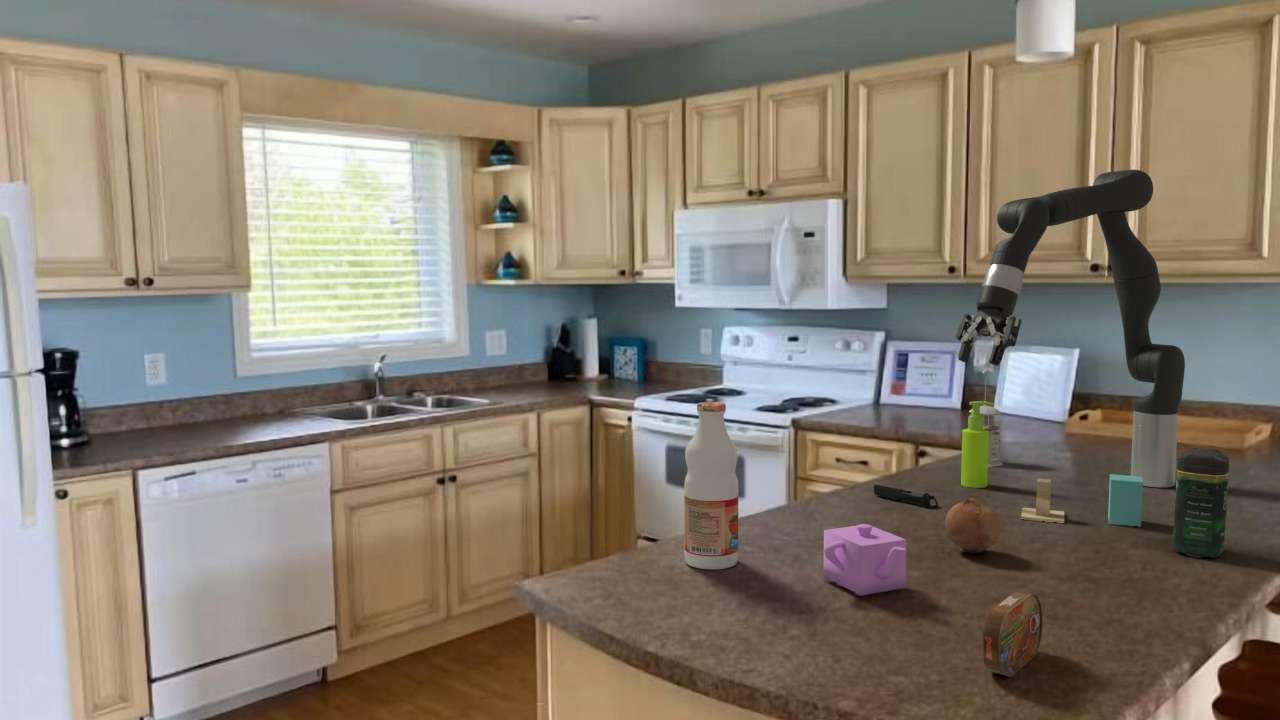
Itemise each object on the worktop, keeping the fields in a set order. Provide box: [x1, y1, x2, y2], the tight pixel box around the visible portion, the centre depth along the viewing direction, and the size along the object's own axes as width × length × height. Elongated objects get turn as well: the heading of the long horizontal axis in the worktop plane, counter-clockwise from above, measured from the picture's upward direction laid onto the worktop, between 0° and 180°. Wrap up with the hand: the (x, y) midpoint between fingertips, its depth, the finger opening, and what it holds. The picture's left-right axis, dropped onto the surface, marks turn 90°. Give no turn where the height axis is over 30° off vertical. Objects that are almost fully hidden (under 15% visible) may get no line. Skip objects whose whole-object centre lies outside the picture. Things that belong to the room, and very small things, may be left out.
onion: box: [944, 497, 1002, 554], centre depth 166 cm, size 10×9×10 cm
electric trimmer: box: [873, 484, 939, 510], centre depth 204 cm, size 4×16×3 cm, turn 39°
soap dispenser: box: [960, 400, 995, 489], centre depth 219 cm, size 6×7×20 cm
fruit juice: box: [683, 401, 739, 571], centre depth 160 cm, size 9×9×28 cm
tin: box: [981, 591, 1043, 678], centre depth 119 cm, size 15×3×8 cm, turn 138°
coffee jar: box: [1172, 447, 1230, 558], centre depth 165 cm, size 10×8×19 cm
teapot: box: [822, 523, 908, 597], centre depth 147 cm, size 18×14×10 cm
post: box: [1020, 478, 1065, 524], centre depth 190 cm, size 8×8×8 cm
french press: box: [968, 368, 1004, 468], centre depth 245 cm, size 10×12×25 cm
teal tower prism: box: [1107, 473, 1144, 528], centre depth 186 cm, size 6×6×9 cm
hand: (977, 362), depth 193 cm, fingers open, 8 cm apart
